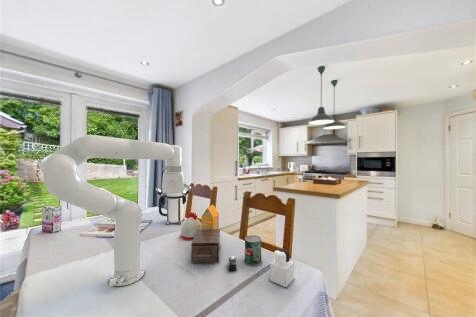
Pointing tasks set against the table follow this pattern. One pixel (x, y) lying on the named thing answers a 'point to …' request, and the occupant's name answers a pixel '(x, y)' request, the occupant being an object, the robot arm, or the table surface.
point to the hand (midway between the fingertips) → (173, 204)
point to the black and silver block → (232, 264)
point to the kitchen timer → (190, 227)
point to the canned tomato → (253, 250)
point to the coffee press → (173, 208)
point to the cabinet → (207, 239)
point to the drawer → (204, 253)
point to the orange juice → (210, 218)
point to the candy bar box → (51, 218)
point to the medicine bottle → (282, 268)
